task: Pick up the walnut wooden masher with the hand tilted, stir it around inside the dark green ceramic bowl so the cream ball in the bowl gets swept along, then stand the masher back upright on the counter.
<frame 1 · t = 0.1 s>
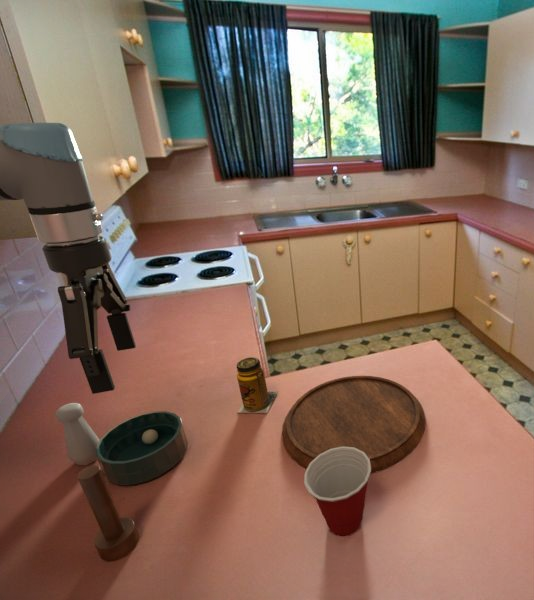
hand: (116, 368, 69), 27 cm above the countertop, tool pointing down, fingers open, 13 cm apart
plastic cup: (343, 523, 73), on the countertop
salt shaker: (89, 459, 89), on the countertop
cutting board: (354, 422, 97), on the countertop
condiment: (258, 402, 104), on the countertop
bowl: (148, 458, 88), on the countertop
cream ball: (150, 436, 91), point 2 cm above the countertop, touching bowl
wooden masher: (119, 545, 70), on the countertop
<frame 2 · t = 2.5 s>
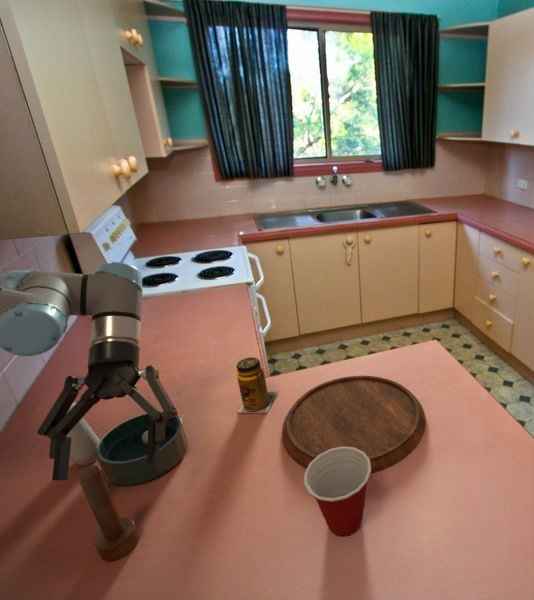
hand: (107, 471, 69), 12 cm above the countertop, tool tilted 45°, fingers open, 13 cm apart
nothing on the countertop moved.
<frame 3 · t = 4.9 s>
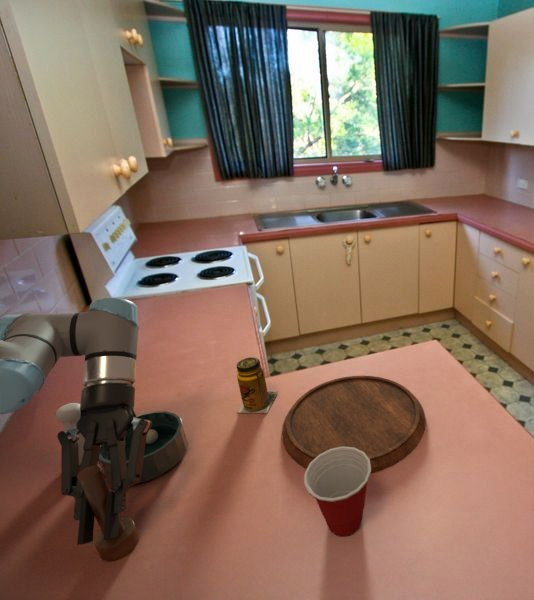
hand: (98, 540, 64), 6 cm above the countertop, tool tilted 45°, fingers closed on wooden masher, 3 cm apart
wooden masher: (119, 545, 70), on the countertop, touching gripper
everything else where it was.
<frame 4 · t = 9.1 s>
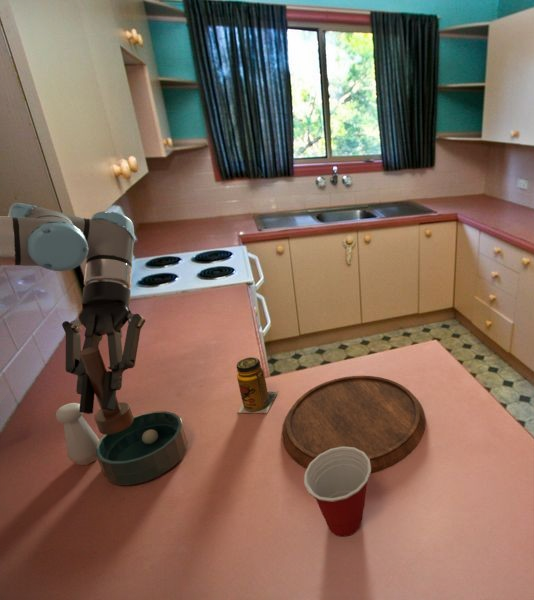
hand: (97, 410, 74), 18 cm above the countertop, tool tilted 45°, fingers closed on wooden masher, 3 cm apart
wooden masher: (116, 424, 80), point 12 cm above the countertop, touching gripper
everything else where it was.
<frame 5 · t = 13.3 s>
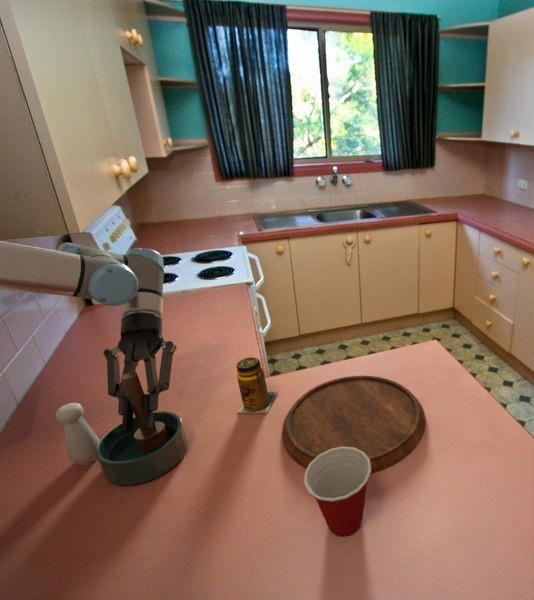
hand: (137, 429, 83), 9 cm above the countertop, tool tilted 45°, fingers closed on wooden masher, 3 cm apart
cream ball: (149, 436, 91), point 2 cm above the countertop, tilted 15°, touching bowl, wooden masher
wooden masher: (153, 441, 88), point 3 cm above the countertop, touching cream ball, gripper
everything else where it was.
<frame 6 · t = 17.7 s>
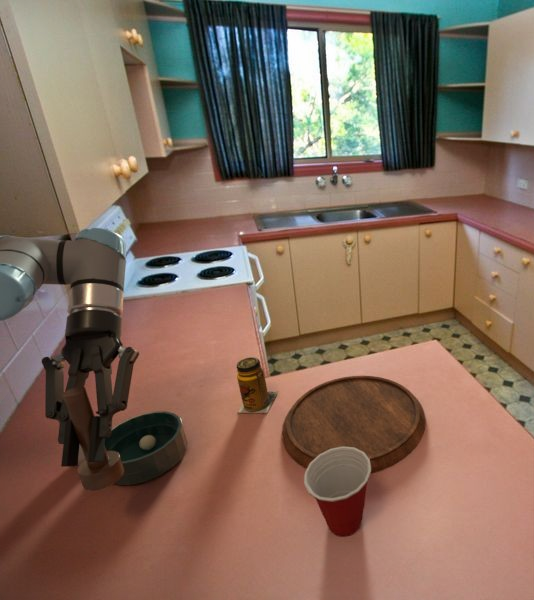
hand: (82, 463, 63), 18 cm above the countertop, tool tilted 45°, fingers closed on wooden masher, 3 cm apart
cream ball: (147, 442, 89), point 2 cm above the countertop, tilted 62°, touching bowl
wooden masher: (104, 477, 68), point 12 cm above the countertop, touching gripper
everything else where it was.
when the fingers open (6 cm above the countertop, at t = 21.2 s): wooden masher stays where it is, on the countertop.
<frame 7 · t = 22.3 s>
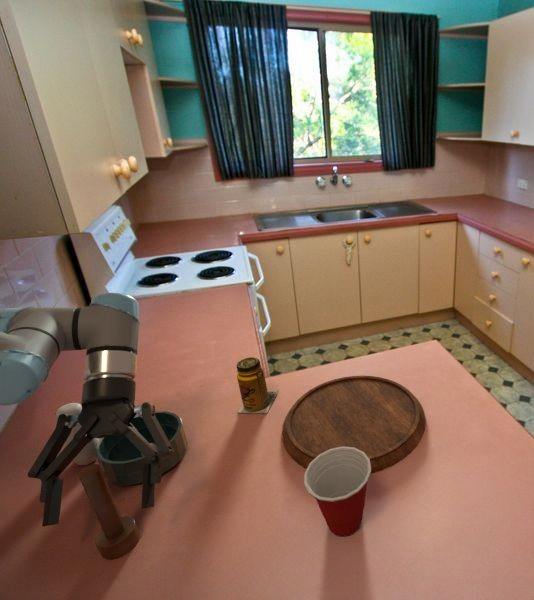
hand: (100, 516, 66), 8 cm above the countertop, tool tilted 45°, fingers open, 13 cm apart
cream ball: (149, 450, 87), point 2 cm above the countertop, tilted 168°, touching bowl
wooden masher: (120, 543, 70), on the countertop
everything else where it was.
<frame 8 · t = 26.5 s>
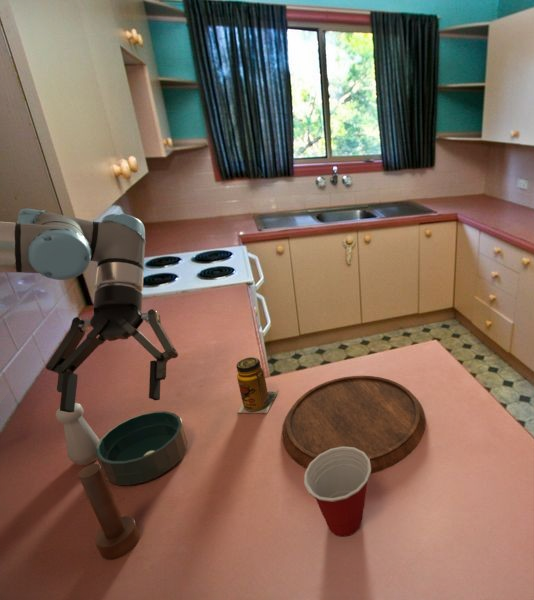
hand: (111, 405, 73), 20 cm above the countertop, tool tilted 45°, fingers open, 13 cm apart
cream ball: (151, 458, 85), point 2 cm above the countertop, tilted 83°, touching bowl
everything else where it was.
at the end: cream ball moved 7.5 cm from its start; cream ball inside the target area in the bowl (3.5 cm from its centre), point 2.1 cm above the bowl's base; wooden masher tilted 0° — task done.
